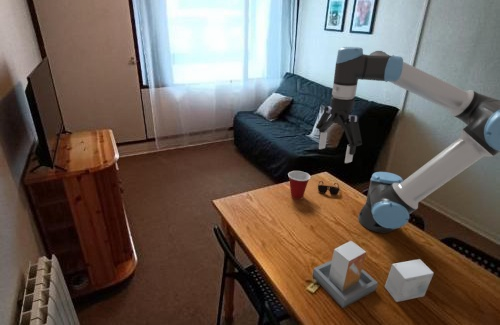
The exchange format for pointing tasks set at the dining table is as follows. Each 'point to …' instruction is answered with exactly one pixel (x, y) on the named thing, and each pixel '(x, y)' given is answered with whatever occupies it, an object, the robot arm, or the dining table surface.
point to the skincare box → (408, 280)
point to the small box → (346, 265)
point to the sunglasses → (324, 189)
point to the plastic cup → (298, 183)
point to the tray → (351, 293)
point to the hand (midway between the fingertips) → (334, 154)
